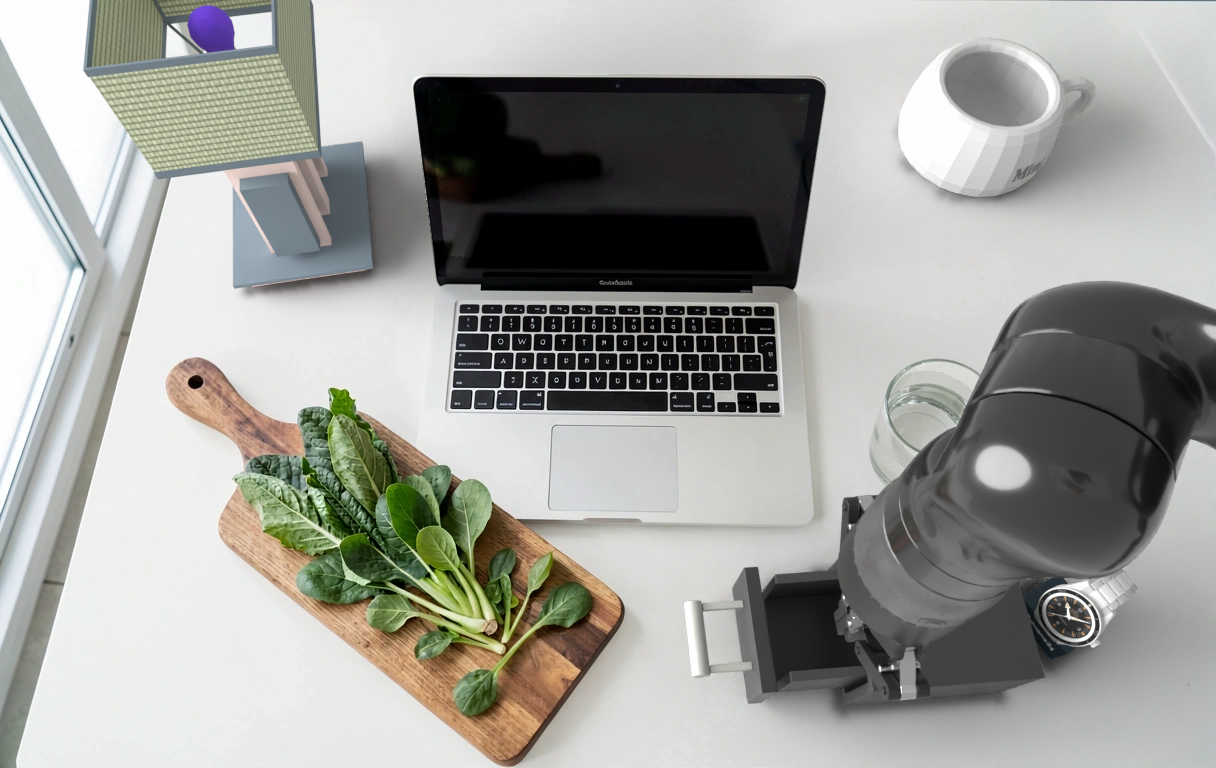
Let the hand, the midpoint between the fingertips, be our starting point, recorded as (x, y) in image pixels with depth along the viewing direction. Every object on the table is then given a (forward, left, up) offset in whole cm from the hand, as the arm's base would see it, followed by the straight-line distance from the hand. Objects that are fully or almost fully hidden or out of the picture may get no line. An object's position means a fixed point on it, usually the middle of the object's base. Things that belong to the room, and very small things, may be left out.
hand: (849, 622), depth 62 cm
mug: (-31, -56, -19) cm, 67 cm away
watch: (-23, -2, -19) cm, 30 cm away
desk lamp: (+46, -50, -19) cm, 70 cm away
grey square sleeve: (-10, -2, -18) cm, 21 cm away
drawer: (+1, -2, -17) cm, 18 cm away
